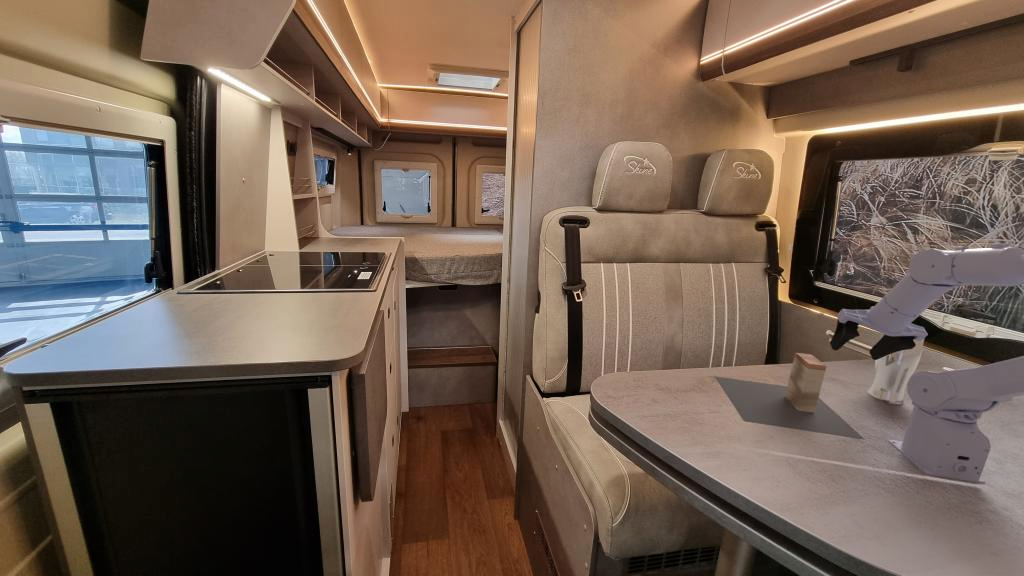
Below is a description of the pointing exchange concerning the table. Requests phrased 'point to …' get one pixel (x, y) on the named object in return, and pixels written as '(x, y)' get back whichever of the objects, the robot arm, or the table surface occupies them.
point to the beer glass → (895, 374)
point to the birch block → (805, 382)
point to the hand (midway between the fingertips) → (852, 351)
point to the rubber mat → (781, 408)
